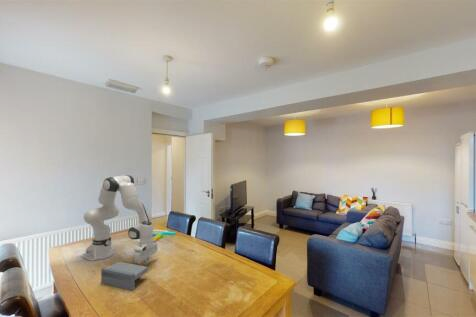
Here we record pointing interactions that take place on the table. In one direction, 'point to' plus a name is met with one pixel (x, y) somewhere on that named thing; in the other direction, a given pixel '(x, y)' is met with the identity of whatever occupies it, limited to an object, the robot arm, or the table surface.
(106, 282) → the grey block
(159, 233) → the puzzle game
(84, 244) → the table surface
